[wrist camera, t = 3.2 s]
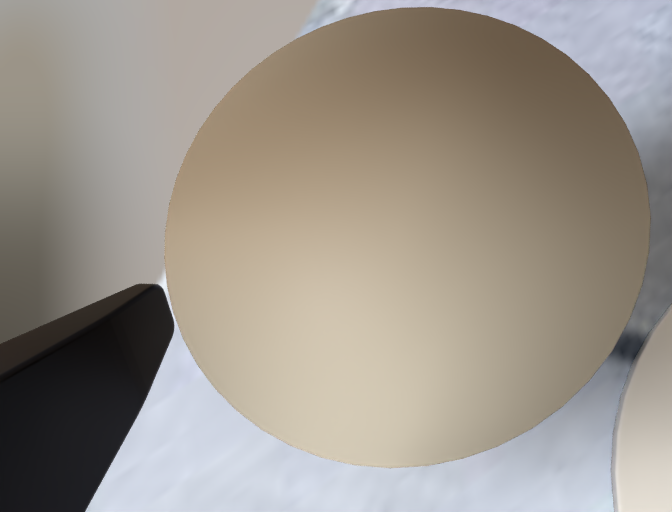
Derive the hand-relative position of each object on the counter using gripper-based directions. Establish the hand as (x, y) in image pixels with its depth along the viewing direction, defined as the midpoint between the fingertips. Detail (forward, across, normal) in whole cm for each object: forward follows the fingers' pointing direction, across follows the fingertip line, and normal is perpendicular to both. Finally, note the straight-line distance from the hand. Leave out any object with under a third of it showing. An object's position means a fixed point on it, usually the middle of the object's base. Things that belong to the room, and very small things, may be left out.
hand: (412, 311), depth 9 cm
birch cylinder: (+6, 0, +6) cm, 8 cm away
